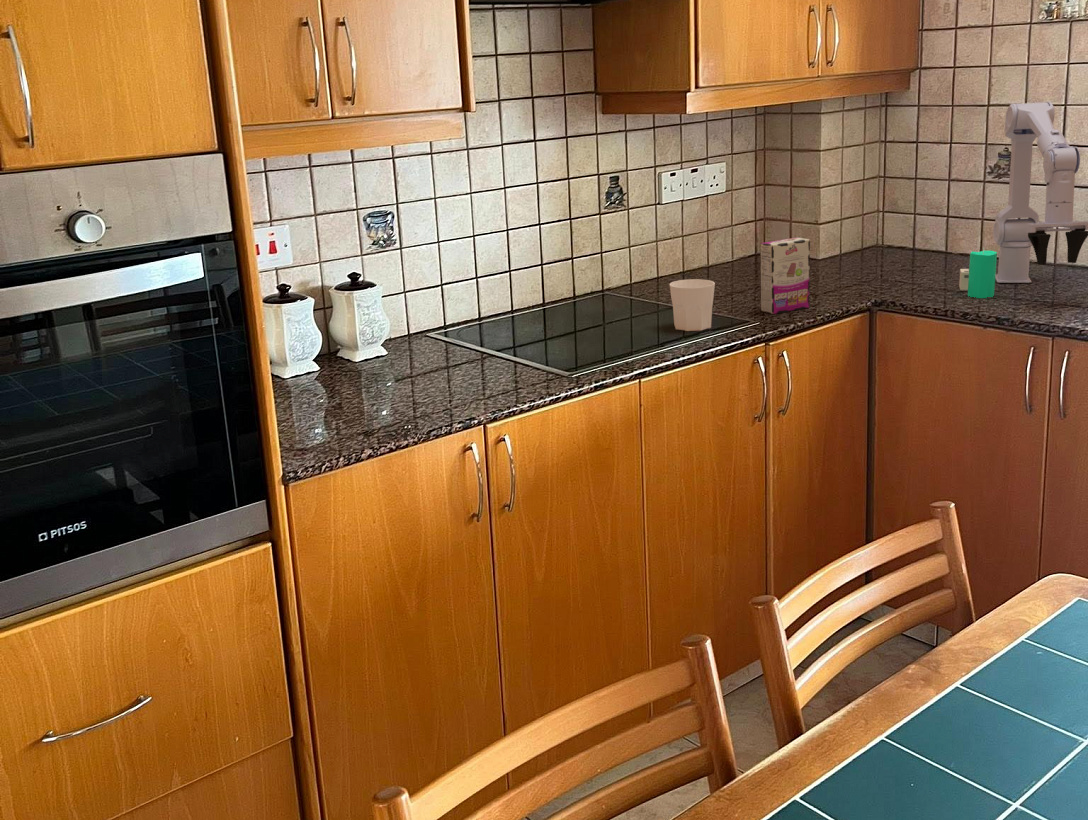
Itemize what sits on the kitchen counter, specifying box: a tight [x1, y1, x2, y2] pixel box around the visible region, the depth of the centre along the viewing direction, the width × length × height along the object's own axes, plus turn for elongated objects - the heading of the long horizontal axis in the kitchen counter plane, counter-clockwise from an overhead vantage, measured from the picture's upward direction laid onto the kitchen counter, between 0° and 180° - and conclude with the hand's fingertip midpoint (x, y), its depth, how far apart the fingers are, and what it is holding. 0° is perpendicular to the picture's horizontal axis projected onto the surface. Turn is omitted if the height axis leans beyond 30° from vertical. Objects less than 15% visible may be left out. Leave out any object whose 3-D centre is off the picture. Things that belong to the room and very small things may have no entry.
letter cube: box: [958, 268, 969, 291], centre depth 288 cm, size 5×4×5 cm
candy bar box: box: [759, 237, 811, 315], centre depth 273 cm, size 11×5×16 cm, turn 117°
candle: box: [967, 248, 998, 299], centre depth 278 cm, size 6×6×12 cm
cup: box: [669, 278, 716, 332], centre depth 261 cm, size 10×10×10 cm
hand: (1056, 263), depth 263 cm, fingers open, 7 cm apart
